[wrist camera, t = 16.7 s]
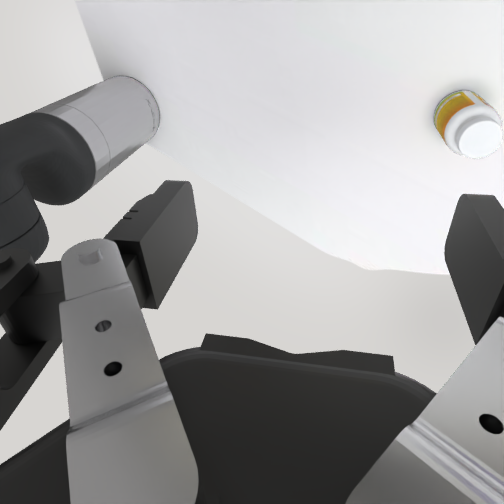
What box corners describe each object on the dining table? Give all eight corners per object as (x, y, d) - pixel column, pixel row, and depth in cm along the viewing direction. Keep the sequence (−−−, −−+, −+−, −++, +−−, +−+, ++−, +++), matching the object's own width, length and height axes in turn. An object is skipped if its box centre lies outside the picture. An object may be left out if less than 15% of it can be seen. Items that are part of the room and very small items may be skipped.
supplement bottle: (427, 133, 47) (443, 163, 40) (440, 88, 44) (461, 111, 36) (473, 137, 47) (498, 168, 39) (489, 90, 43) (521, 115, 36)
